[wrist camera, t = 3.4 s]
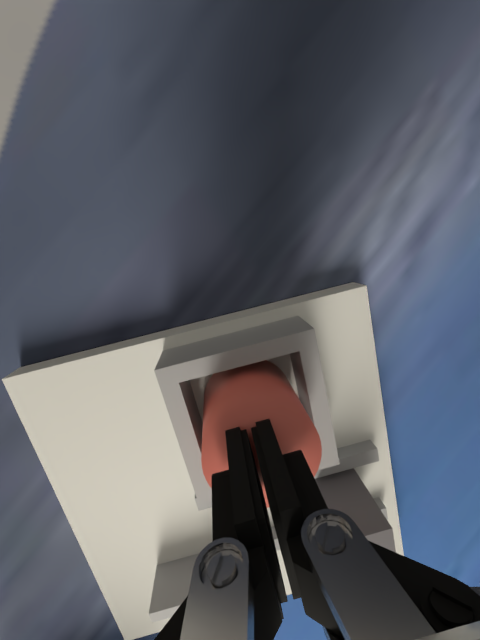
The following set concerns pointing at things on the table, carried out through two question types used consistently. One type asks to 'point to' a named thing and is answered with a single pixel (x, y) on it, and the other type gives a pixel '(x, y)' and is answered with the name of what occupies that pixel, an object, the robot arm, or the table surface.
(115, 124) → the table surface
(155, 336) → the panel
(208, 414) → the button
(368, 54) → the table surface
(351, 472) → the slider
